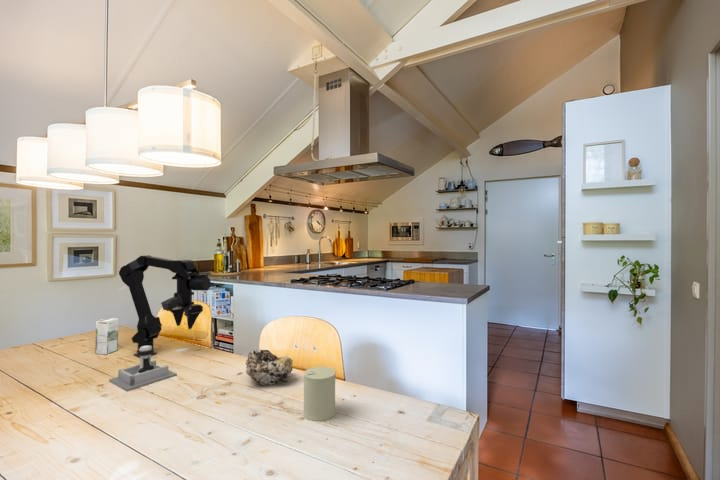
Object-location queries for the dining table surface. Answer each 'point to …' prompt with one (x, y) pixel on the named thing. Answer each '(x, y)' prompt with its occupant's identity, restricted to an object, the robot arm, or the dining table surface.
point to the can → (319, 393)
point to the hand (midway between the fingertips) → (184, 327)
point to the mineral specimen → (268, 367)
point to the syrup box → (106, 335)
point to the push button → (145, 358)
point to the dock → (141, 376)
